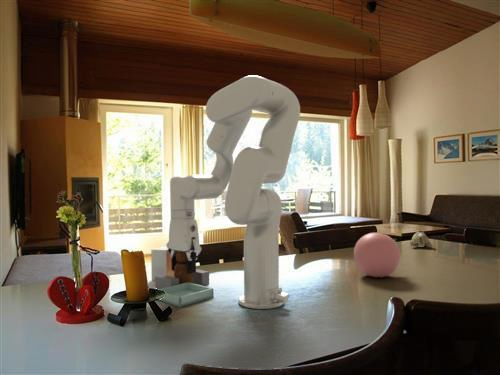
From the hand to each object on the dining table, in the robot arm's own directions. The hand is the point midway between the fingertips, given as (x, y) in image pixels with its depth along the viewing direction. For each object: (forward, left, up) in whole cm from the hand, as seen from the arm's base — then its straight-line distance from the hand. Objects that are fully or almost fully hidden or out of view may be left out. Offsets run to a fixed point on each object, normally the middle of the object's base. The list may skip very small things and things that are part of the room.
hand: (183, 270), depth 126 cm
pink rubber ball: (-42, -54, -5) cm, 68 cm away
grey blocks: (0, 0, -5) cm, 5 cm away
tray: (-10, +8, -5) cm, 14 cm away
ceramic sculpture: (-32, -127, -5) cm, 131 cm away
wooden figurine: (0, 0, -5) cm, 5 cm away
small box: (+14, -3, -5) cm, 16 cm away
